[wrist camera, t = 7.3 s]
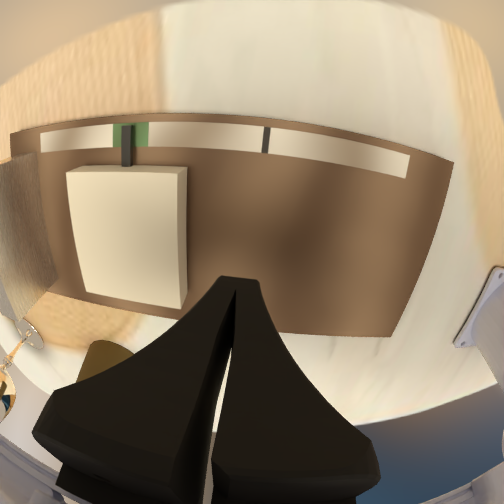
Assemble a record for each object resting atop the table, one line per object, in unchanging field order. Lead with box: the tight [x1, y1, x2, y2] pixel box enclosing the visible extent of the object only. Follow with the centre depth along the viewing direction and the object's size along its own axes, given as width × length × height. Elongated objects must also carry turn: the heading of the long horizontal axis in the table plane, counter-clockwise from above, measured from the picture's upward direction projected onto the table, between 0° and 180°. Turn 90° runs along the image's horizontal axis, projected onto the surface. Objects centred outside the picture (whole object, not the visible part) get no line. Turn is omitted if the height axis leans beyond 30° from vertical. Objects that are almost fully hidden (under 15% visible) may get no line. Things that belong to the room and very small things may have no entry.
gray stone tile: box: [0, 152, 58, 322], centre depth 12 cm, size 2×9×5 cm, turn 174°
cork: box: [76, 340, 134, 383], centre depth 17 cm, size 6×6×11 cm
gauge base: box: [10, 113, 454, 337], centre depth 14 cm, size 26×12×1 cm, turn 84°
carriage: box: [66, 125, 188, 309], centre depth 13 cm, size 6×9×2 cm, turn 174°
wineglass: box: [0, 318, 44, 423], centre depth 16 cm, size 6×6×12 cm
